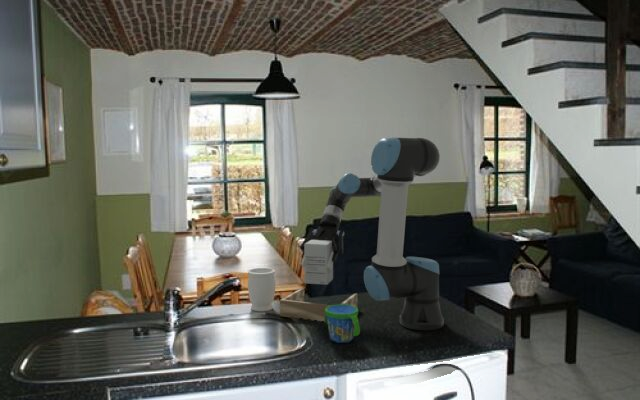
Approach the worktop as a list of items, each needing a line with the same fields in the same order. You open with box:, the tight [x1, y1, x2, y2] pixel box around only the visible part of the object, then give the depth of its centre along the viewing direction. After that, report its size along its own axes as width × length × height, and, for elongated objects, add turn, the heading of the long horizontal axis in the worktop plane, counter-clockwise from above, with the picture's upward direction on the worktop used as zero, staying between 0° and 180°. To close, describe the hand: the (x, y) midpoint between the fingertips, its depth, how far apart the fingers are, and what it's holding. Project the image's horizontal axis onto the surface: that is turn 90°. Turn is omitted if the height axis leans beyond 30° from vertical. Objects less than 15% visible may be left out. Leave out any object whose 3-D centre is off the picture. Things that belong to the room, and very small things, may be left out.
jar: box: [247, 267, 276, 312], centre depth 199 cm, size 11×10×15 cm
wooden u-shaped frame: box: [279, 287, 358, 323], centre depth 194 cm, size 19×24×6 cm
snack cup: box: [324, 303, 361, 344], centre depth 165 cm, size 16×10×10 cm
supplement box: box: [304, 240, 334, 286], centre depth 192 cm, size 9×9×15 cm
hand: (315, 267), depth 189 cm, fingers closed on supplement box, 10 cm apart
